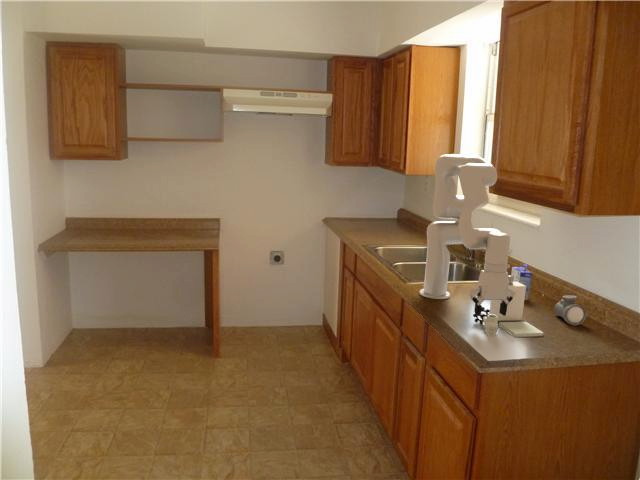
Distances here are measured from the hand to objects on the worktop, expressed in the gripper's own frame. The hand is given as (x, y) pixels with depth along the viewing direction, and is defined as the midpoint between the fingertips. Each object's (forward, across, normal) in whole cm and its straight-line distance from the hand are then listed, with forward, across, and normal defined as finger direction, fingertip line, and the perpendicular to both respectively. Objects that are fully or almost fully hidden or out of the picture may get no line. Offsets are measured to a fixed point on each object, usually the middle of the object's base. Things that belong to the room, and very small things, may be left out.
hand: (490, 314), depth 198 cm
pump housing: (+5, -12, -8) cm, 15 cm away
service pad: (+6, -12, +2) cm, 13 cm away
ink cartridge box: (+5, -34, -36) cm, 50 cm away
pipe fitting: (+6, -37, -7) cm, 38 cm away
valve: (+6, +1, 0) cm, 6 cm away
